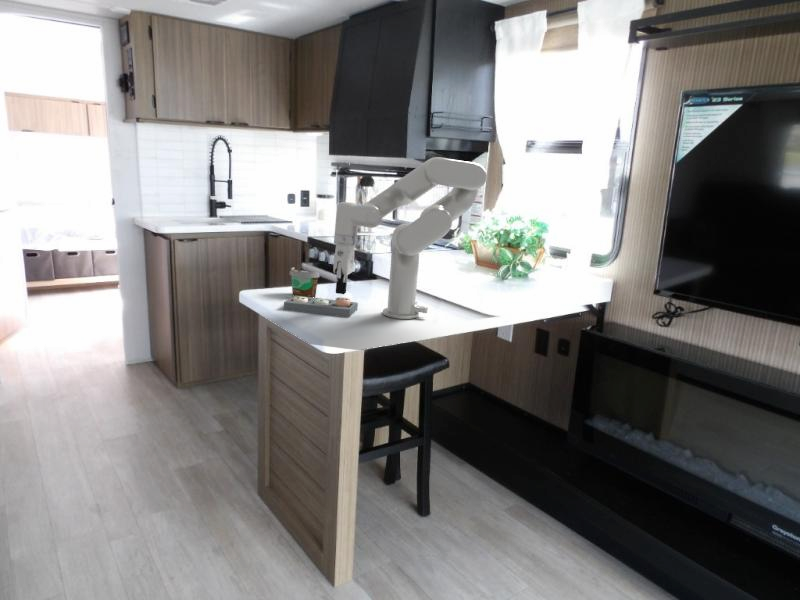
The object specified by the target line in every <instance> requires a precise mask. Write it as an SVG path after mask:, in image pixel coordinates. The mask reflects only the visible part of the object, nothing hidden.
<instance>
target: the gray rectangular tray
mask: <svg viewBox="0 0 800 600" xmlns="http://www.w3.org/2000/svg"><path fill="white" fill-rule="evenodd" d="M294 297H304V296H296V295H295V296H293V295H292V297H290V298H288V299H287V300H285V301H284V302H283V310H284V309H285V310H286V311H293V310H294V311H293V312H301V311H303V312H304V313H309V312H310V313H309V314H318V313H320V314H319V315H326V314H328V315H329V316H335V315H337V317H343V316H344V317H345V318H350V317H352V315H354V314H355V313H356V312H357V311H358V306H359V303H358V302H355V301H350V307H349V308H347V307H339V306H335V301H336V299H329V298H324V299H325V300H328V301H329V304H328V305H321V304H314V300H316V299H323V298H322V297H314V298H313V297H306V298H308V302H307V303H304V302H296V301H293V298H294ZM285 310H284V311H285ZM355 311H356V312H355ZM328 315H327V316H328Z"/></svg>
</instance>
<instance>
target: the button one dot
mask: <svg viewBox="0 0 800 600" xmlns="http://www.w3.org/2000/svg"><path fill="white" fill-rule="evenodd" d="M325 299H326V298H322V299H316V300H314V304H321V305H328V304H329V301H328V300H325Z"/></svg>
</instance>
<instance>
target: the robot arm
mask: <svg viewBox="0 0 800 600" xmlns="http://www.w3.org/2000/svg"><path fill="white" fill-rule="evenodd" d="M487 179H488V175H487V170H486V169H485V168H484V166H483V165H481V164H480V163H476V162H472V161H464V160H458V159H452V158H446V157H441V156H437V157H436V156H435V157H431V158H429V159H428V160H426V161H424V162H423V163H422V164H420V165H419V166H417V167H415V168H414V169H413V170H411V171H410V172H409V173H407V174H406V175H404V176H403V177H401V178H400V179H398V180H397V181H395V182H394V183H392V184H391V185H390V186H389V187H387V188H386V189H384V190H383V191H381V192H380V193H379V194H376V196H374V197H372V198H371V199H370V200H369V201H367V202H365V203H364V204H363V205H359V204H357V203H354V202H349V201H348V202H347V201H341V202H338V203H337V205H336V214H335V225H334V227H335V228H334V237H333V244H334V245H335V249H334V250H335V252H334V258H333V266H332V267H333V270H332V271H333V273H334V275H335V274H336V276H335V277H336V285H335V293H336V294H339V295H340V294H341V295H345V294H346V293H347V283H348V275H350V274H351V273H353V272H354V269H355V268H354V267H355V252H356V251H355V246H357V242H358V241H357V240H358V228H359V227H360V226H361V227H364V228H368V229H374V228H377V227H379V225H381V223H382V221H383V218H385V217H386V216H388V215H389V214H390V213H392V212H393V211H395V210H397V209H399V208H401V207H403V206H407V205H410V204H411V203H414V202H415V201H416V200H418V199H420V198H421V197H422V196H423V195H425V194H426V193H428V192H429V191H431V190H432V189H434V188H435V187H436V186H438V185H440V186H444V187H449V188H450V187H451V188H452V189H451V191H449V192H448V193H447V194H446V195H444V196H443V197H442V198H440V199H439V200H437V201H435V202H434V203H433V204H431V205H430V206H428V207H426V208H424V209H423V210H422V211H421V213H420V215H419V217H418V218H417V219H415V220H414V221H412V222H411V223H408V222H407V223H406V222H405V223H401V224H399V225H398V226H396V227H395V228H394V230H393V233H392V235H391V249H390V250H391V251H390V254H391V255H390V270H389V280H388V282H389V283H388V284H389V285H388V295H387V297H388V298H387V307H385V308H384V309H382V315H384V316H386V317H389V318H393V319H398V320H399V319H400V320H413V319H417V318H418V317H419V315H420V313H422V314H428V310H429V309H428V307H425V306H422V305H419V304H418V302H417V301H416V299H417V286H418V285H417V283H418V273H419V265H420V253H422V252H423V251H424V250H426V249H427V248H429V247H431V246H433V244H435V243H436V242H438V241H439V240H441V239H442V238H444V237H445V236H446V235H447V234H448V233H449V232H450V231H451V228H452V225H453V222H454V221H456V220H457V219H459V218H460V217H461V216H462V215H463V214H465V213H466V212H467V211H468V210H469V209H471V207H472V205H473V204H474V203H475V202H476V201H475V200H476V199H477V195H478V192H479V189H481V188H482V187H483V186H484V185H485V184H486V181H487Z"/></svg>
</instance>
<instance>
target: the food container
mask: <svg viewBox="0 0 800 600" xmlns="http://www.w3.org/2000/svg"><path fill="white" fill-rule="evenodd" d="M289 276H291V289H292V296H293V295H294V296H295V295H296V296H304V297H314V298H316V295H317V287H318V279H319V278H320V273H319V271H312V272H311V271H309V270H300V269H295V267H294V266H293V267H291V269H290V270H289Z"/></svg>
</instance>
